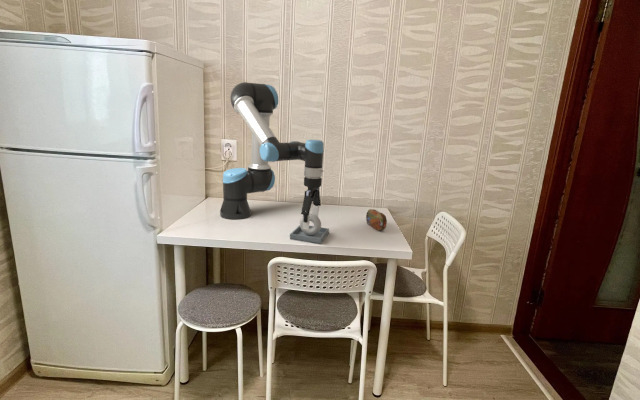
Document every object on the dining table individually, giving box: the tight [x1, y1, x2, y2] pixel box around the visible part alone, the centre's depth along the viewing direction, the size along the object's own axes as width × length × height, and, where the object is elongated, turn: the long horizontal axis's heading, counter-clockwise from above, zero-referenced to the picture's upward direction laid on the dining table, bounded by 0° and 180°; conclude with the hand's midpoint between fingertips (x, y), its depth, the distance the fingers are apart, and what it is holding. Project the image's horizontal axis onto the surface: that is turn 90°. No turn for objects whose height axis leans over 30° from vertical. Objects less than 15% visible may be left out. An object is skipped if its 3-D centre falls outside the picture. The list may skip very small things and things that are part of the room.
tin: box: [365, 208, 388, 232], centre depth 166 cm, size 15×3×8 cm, turn 23°
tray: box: [289, 224, 330, 245], centre depth 151 cm, size 14×14×2 cm
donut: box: [299, 213, 322, 235], centre depth 150 cm, size 10×4×10 cm, turn 74°
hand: (310, 224), depth 150 cm, fingers open, 13 cm apart
